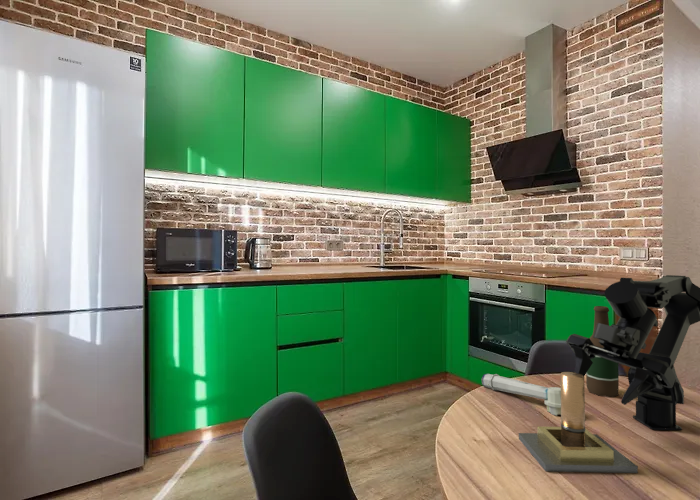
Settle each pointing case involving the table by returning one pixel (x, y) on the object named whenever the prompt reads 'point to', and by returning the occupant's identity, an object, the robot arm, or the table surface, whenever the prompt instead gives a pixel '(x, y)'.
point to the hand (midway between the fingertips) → (597, 393)
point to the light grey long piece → (526, 390)
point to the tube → (572, 410)
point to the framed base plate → (575, 453)
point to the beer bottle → (602, 364)
